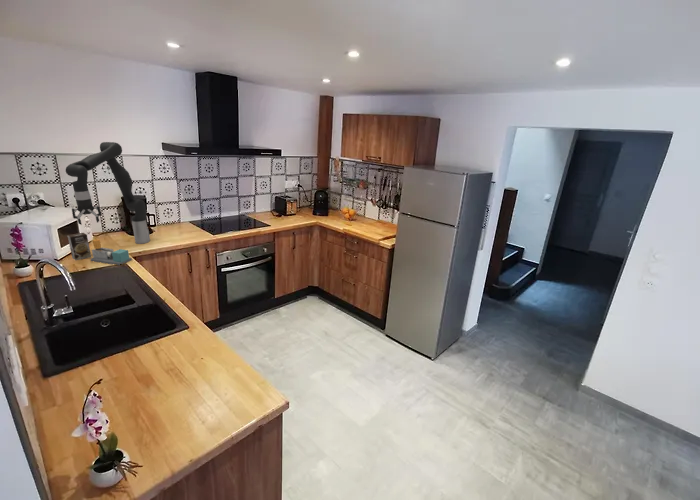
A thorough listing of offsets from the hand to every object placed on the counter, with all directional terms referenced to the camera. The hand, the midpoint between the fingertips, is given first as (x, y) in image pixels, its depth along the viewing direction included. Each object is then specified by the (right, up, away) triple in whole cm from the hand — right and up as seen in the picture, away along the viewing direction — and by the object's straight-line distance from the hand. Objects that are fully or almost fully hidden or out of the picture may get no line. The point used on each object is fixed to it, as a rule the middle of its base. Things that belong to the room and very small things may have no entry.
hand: (89, 223), depth 216 cm
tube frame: (+7, -24, +11) cm, 27 cm away
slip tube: (+3, -21, +11) cm, 24 cm away
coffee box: (-14, -22, +13) cm, 29 cm away
